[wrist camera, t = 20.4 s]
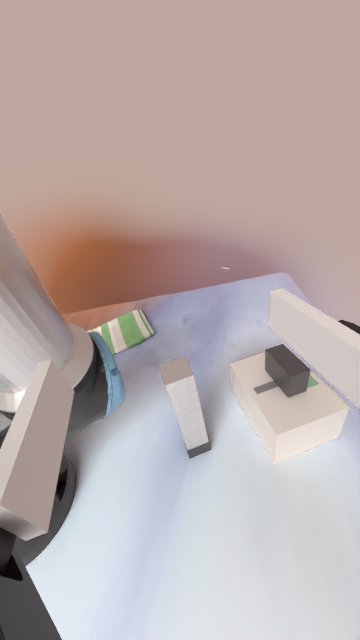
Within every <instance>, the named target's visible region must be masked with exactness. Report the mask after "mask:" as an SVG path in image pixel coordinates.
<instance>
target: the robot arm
mask: <svg viewBox="0 0 360 640" xmlns="http://www.w3.org/2000/svg"><path fill="white" fill-rule="evenodd" d="M269 328H270V329H271V330H272V331H273V332H275V333H276V334H277V335H278V336H279V337H280V338H281V339H282V340H283V341H284V342H286V343H287V344H288V345H289V346H290V347H291V348H292V349H293V350H294V351H296V352H297V353H298V354H299V355H300V356H301V357H302V358H303V359H304V360H306V361H307V362H308V363H309V364H310V365H311V366H312V367H313V368H314V369H316V370H317V371H318V372H319V373H320V374H321V375H322V376H323V377H324V378H326V379H327V380H328V381H329V382H330V383H331V384H332V385H333V386H334V387H336V388H337V389H338V390H339V391H340V392H341V393H342V394H343V395H344V396H346V397H347V398H348V399H349V400H350V401H351V402H352V403H353V404H354V405H356V406H357V407H358V408H359V409H360V327H359V326H357V325H355V324H353V323H350V322H347V321H344V320H340V321H336V320H334V319H333V318H331V317H329V316H328V315H326V314H325V313H323V312H321V311H320V310H318V309H316V308H315V307H313V306H311V305H310V304H308V303H306V302H305V301H303V300H301V299H299V298H298V297H296V296H294V295H293V294H291V293H289V292H288V291H286V290H284V289H283V288H280V289H277V290H273V291H270V316H269ZM124 397H125V389H124V384H123V380H122V377H121V375H120V372H119V370H118V369H117V365H116V362H115V359H114V357H113V355H112V353H111V351H110V349H109V347H108V345H107V343H106V342H105V340H104V339H103V337H102V336H101V335H100V334H99V333H98V332H95V331H93V332H86V331H85V330H84V329H83V328H82V327H80V326H78V325H75V324H72V323H68V322H65V320H64V318H63V317H62V315H61V314H60V312H59V310H58V309H57V307H56V305H55V304H54V302H53V300H52V299H51V297H50V296H49V294H48V292H47V291H46V289H45V287H44V286H43V284H42V283H41V281H40V279H39V278H38V276H37V274H36V273H35V271H34V269H33V268H32V266H31V264H30V263H29V261H28V260H27V258H26V256H25V255H24V253H23V252H22V250H21V248H20V246H19V245H18V244H17V242H16V240H15V238H14V237H13V235H12V233H11V232H10V230H9V229H8V227H7V225H6V224H5V222H4V220H3V219H2V217H1V215H0V640H62V639H61V637H60V635H59V633H58V631H57V629H56V627H55V625H54V623H53V621H52V619H51V617H50V615H49V613H48V611H47V609H46V607H45V605H44V603H43V601H42V599H41V597H40V595H39V593H38V591H37V589H36V587H35V585H34V583H33V581H32V579H31V577H30V576H29V574H28V572H27V570H26V568H25V566H26V565H28V564H29V563H30V562H31V561H32V560H34V559H35V558H36V557H37V556H38V555H39V554H40V553H41V552H42V551H43V550H44V549H45V547H46V546H47V545H48V544H49V543H50V541H51V540H52V539H53V537H54V536H55V535H56V533H57V532H58V530H59V528H60V527H61V525H62V523H63V521H64V520H65V518H66V516H67V513H68V511H69V509H70V506H71V503H72V500H73V497H74V492H75V486H76V476H75V470H74V467H73V465H72V463H71V462H70V461H69V460H68V459H67V458H66V457H65V456H64V455H63V449H64V444H65V441H66V440H68V439H69V438H71V437H72V436H74V435H75V434H77V433H79V432H80V431H82V430H83V429H85V428H87V427H88V426H90V425H91V424H93V423H94V422H96V421H98V420H99V419H103V418H105V417H107V415H108V414H109V413H110V412H111V411H113V410H114V409H115V408H117V407H118V406H120V405H121V404H122V402H123V400H124Z"/></svg>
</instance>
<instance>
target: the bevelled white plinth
mask: <svg viewBox="0 0 360 640" xmlns="http://www.w3.org/2000/svg"><path fill="white" fill-rule="evenodd" d="M230 374H231V385H232V392H233V394H234V396H235V398H236V399H237V401H238V403H239V405H240V406H241V408H242V410H243V411H244V413H245V415H246V417H247V418H248V420H249V422H250V423H251V425H252V427H253V429H254V430H255V432H256V434H257V435H258V437H259V439H260V441H261V442H262V444H263V446H264V448H265V449H266V451H267V453H268V454H269V456H270V458H271V460H272V461H273V463H274V464H275V463H278V462H280V461H283V460H285V459H288V458H290V457H293V456H295V455H297V454H300V453H302V452H305V451H307V450H310V449H312V448H315V447H317V446H320V445H322V444H325V443H327V442H330V441H332V440H334V439H337V438H338V437H339V435H340V432H341V430H342V427H343V425H344V422H345V419H346V417H347V414H348V412H349V409H350V406H349V405H348V404H347V403H346V402H345V401H344V400H342V399H341V398H340V397H339V396H338V395H337V394H336V393H335V392H334V391H333V390H332V389H331V388H329V387H328V386H327V385H326V384H325V383H324V382H323V381H322V380H321V379H320V378H319V377H318V376H317V375H315V374H314V373H313V372H312V371H310V376H309V381H308V386H307V391H305V392H303V393H300V394H297V395H295V396H292V397H289V398H288V397H287V396H286V395H285V393H284V392H283V391H282V390H281V389H280V387H279V386H278V385H277V384H276V383H275V381H274V380H273V379H272V378H271V377H270V375H269V374H268V373H267V372H266V370H265V352H263V353H260V354H257V355H254V356H251V357H248V358H245V359H242V360H239V361H236V362H233V363H230Z"/></svg>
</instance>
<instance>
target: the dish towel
mask: <svg viewBox="0 0 360 640" xmlns="http://www.w3.org/2000/svg"><path fill="white" fill-rule="evenodd" d="M93 331H95V332H98V333H99V334H100V335H101V336H102V337H103V339H104V340H105V342H106V343H107V345H108V347H109V349H110V351H111V353H112V355H114V354H116V353H119V352H122V351H124V350H126V349H128V348H131V347H133V346H135V345H137V344H139V343H141V342H143V341H144V340H146V339H147V338H149V337H151V336H152V335H153V334H154V332H153V330H152V328H151V326H150V325H149V323H148V321H147V319H146V317H145V316H144V314H143V312H142V311H141V310H140V309H138V310H134V311H131V312H129V313H127V314H124V315H122V316H120V317H118V318H116V319H114V320H112V321H110V322H107V323H105V324H103V325H101V326H99V327H97V328H95V329H92V330H89V331H86V332H93Z"/></svg>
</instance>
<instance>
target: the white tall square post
mask: <svg viewBox="0 0 360 640" xmlns="http://www.w3.org/2000/svg"><path fill="white" fill-rule="evenodd" d="M159 367H160V370H161V373H162V377H163V380H164V383H165V387H166V390H167V392H168V395H169V398H170V401H171V404H172V407H173V410H174V413H175V416H176V419H177V422H178V424H179V427H180V430H181V433H182V436H183V439H184V442H185V445H186V449H187V452H188V455H189V458H192V457H195V456H197V455H199V454H202V453H204V452H207V451H209V450H211V448H210V443H209V440H208V436H207V432H206V427H205V423H204V418H203V414H202V409H201V405H200V401H199V396H198V392H197V387H196V383H195V379H194V375H193V373H192V370H191V368H190V366H189V364H188V362H187V360H186V358H185V356H184V357H181V358H179V359H176V360H173V361H170V362H167V363H164V364H161V365H159Z"/></svg>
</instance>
